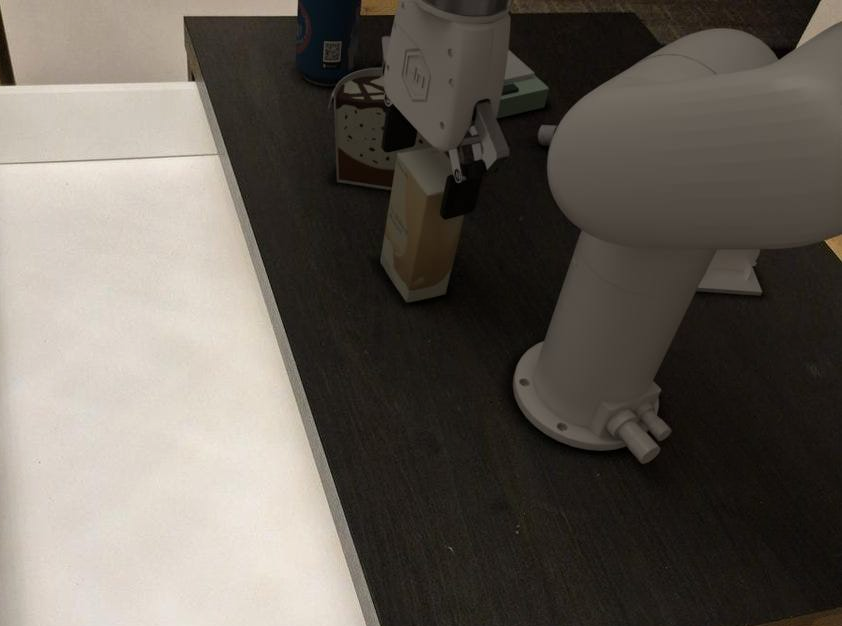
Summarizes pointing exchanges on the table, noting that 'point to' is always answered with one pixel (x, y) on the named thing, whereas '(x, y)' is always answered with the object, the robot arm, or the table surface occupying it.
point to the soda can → (327, 39)
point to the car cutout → (732, 273)
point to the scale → (519, 89)
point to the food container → (364, 131)
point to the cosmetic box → (420, 226)
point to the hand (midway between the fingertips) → (426, 180)
